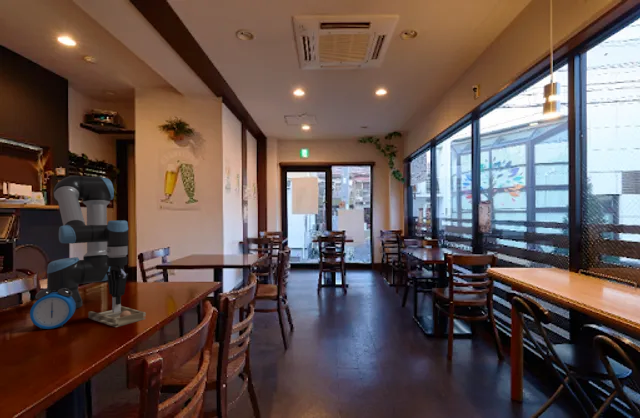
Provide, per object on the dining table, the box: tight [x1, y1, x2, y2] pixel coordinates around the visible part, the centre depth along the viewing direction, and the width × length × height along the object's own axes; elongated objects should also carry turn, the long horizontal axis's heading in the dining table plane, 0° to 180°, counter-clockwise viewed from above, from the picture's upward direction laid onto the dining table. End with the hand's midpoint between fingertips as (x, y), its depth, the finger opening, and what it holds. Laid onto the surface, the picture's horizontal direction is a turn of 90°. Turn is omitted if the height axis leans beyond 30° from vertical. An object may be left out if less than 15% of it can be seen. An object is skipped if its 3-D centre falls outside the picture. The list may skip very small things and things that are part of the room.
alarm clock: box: [29, 288, 77, 331], centre depth 127 cm, size 13×6×15 cm, turn 115°
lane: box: [88, 305, 147, 328], centre depth 137 cm, size 22×12×3 cm, turn 59°
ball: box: [120, 311, 131, 317], centre depth 133 cm, size 4×4×4 cm
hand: (116, 311), depth 137 cm, fingers closed
